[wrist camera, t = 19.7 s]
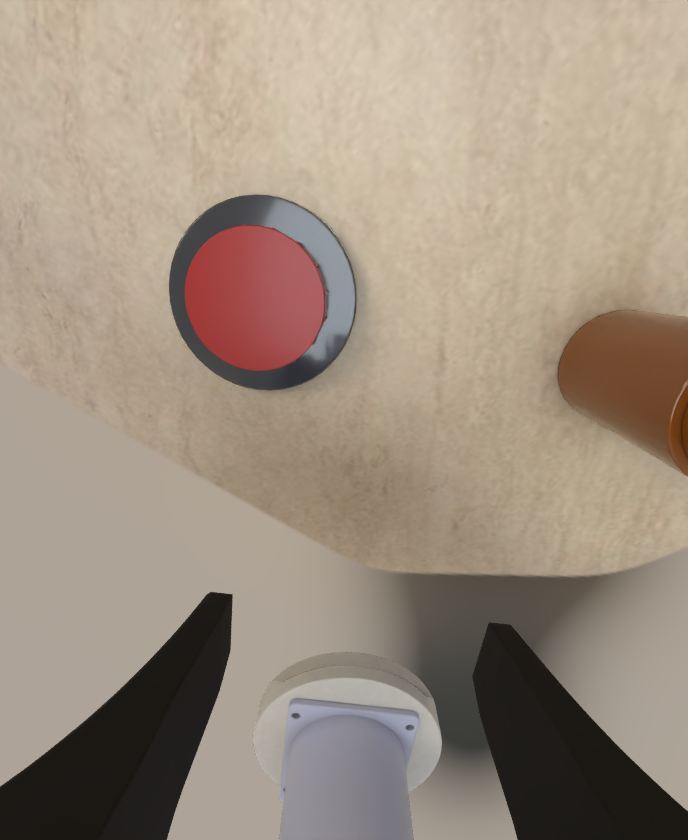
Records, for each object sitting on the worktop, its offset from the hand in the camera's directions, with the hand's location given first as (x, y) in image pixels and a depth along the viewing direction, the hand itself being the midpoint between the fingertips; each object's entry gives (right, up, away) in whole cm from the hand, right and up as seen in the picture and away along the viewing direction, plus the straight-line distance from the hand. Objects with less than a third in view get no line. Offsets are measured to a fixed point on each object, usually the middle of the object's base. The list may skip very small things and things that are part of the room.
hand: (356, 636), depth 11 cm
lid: (-4, +11, +5) cm, 12 cm away
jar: (+12, +8, +7) cm, 16 cm away
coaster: (-4, +11, +7) cm, 14 cm away
